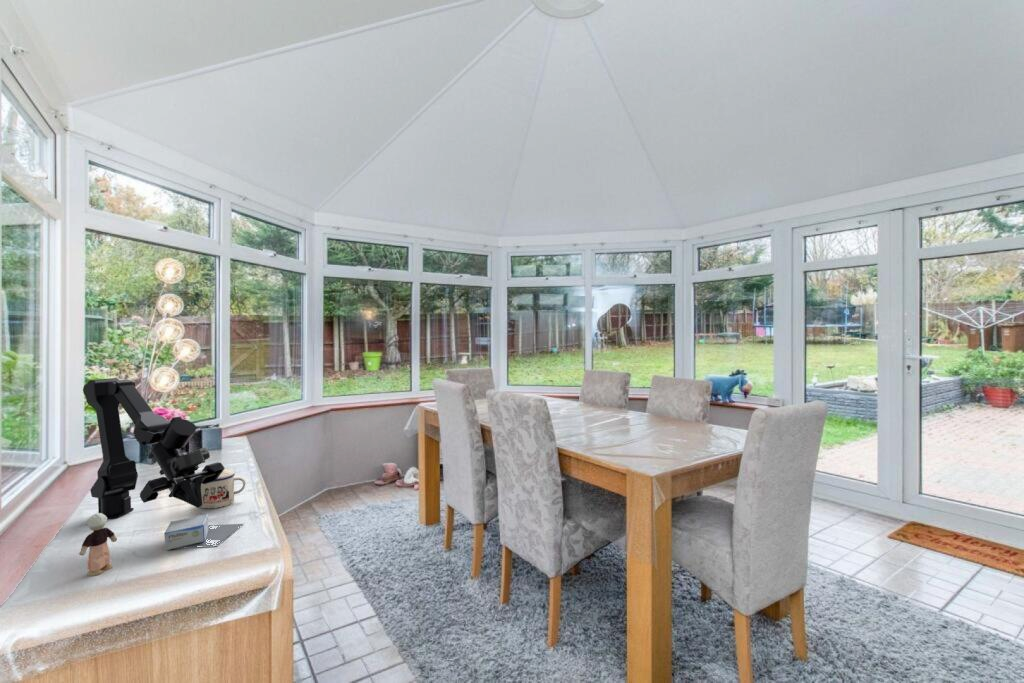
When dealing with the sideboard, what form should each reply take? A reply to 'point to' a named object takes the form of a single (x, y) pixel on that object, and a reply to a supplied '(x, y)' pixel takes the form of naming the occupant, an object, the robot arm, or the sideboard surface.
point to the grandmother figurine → (97, 545)
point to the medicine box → (186, 532)
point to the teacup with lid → (220, 490)
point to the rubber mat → (217, 534)
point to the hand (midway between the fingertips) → (200, 506)
